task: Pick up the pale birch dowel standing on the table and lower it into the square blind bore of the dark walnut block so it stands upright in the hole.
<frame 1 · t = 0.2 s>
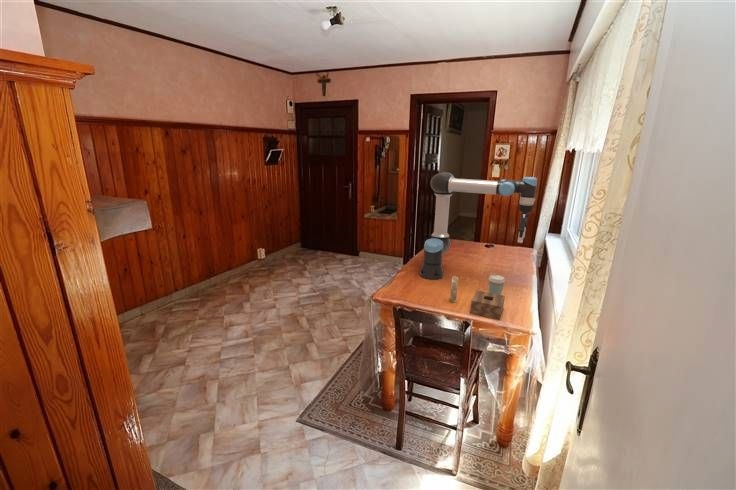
hand: (521, 239, 198), 28 cm above the table, fingers open, 13 cm apart
dowel: (452, 301, 181), on the table
coffee cup: (494, 297, 187), on the table
bore block: (486, 310, 171), on the table
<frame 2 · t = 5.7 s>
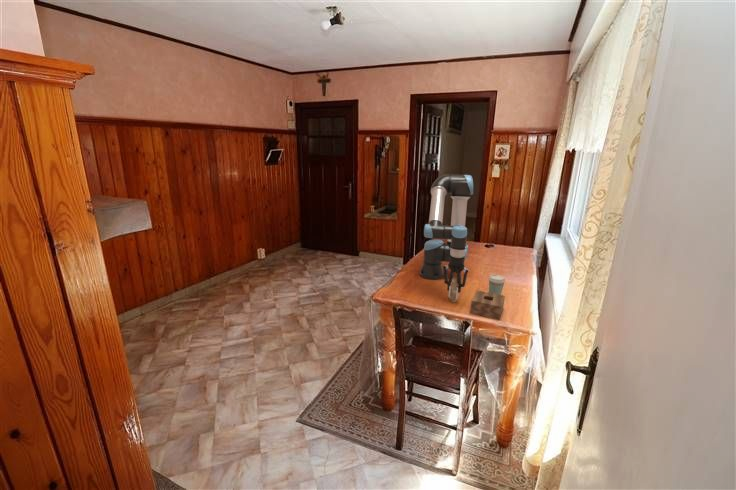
hand: (453, 296, 180), 3 cm above the table, fingers closed on dowel, 3 cm apart
dowel: (453, 301, 181), on the table, touching gripper
everything else where it was.
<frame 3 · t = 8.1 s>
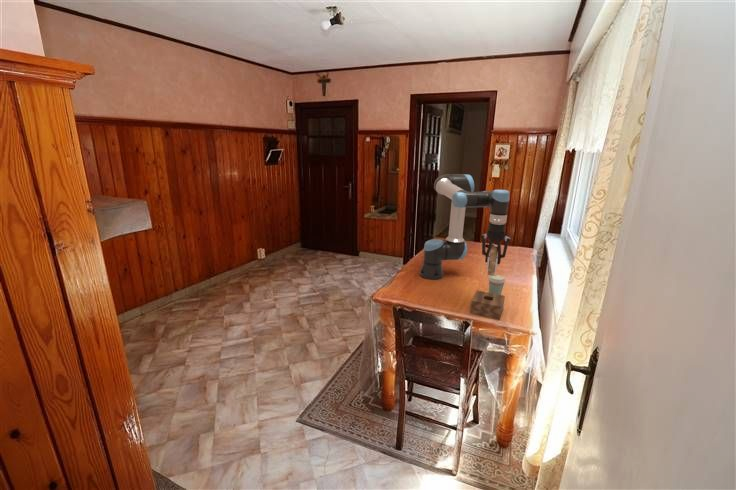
hand: (491, 269, 165), 23 cm above the table, fingers closed on dowel, 3 cm apart
dowel: (491, 274, 165), point 20 cm above the table, touching gripper
everything else where it was.
when the fingers open (8 cm above the table, at t = 10.8 s): dowel drops 2 cm, resting on bore block.
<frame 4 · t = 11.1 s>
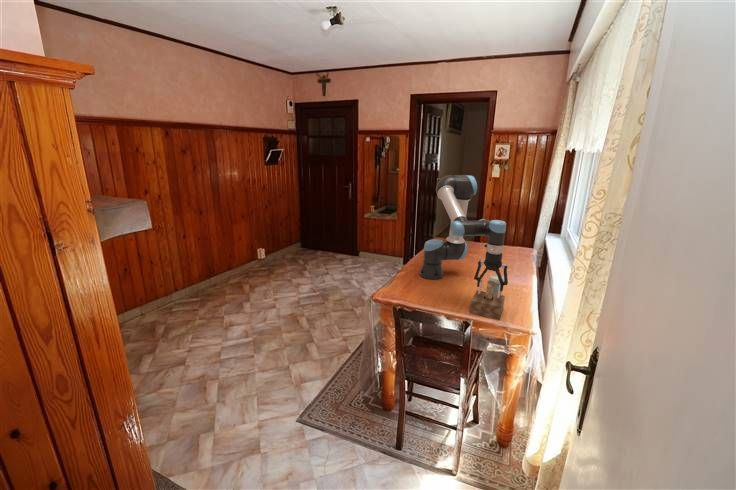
hand: (488, 294, 169), 9 cm above the table, fingers open, 8 cm apart
dowel: (486, 306, 171), point 2 cm above the table, touching bore block
everything else where it was.
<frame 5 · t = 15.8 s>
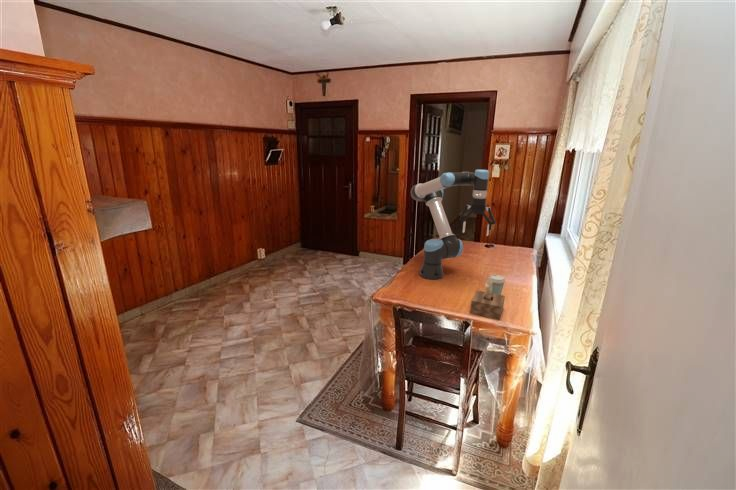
hand: (475, 233, 195), 32 cm above the table, fingers open, 13 cm apart
nothing on the table moved.
at the end: dowel 0.3 cm off-centre on the bore block, point 2.0 cm above the bore block's base; dowel tilted 2°; the gripper is holding nothing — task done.
